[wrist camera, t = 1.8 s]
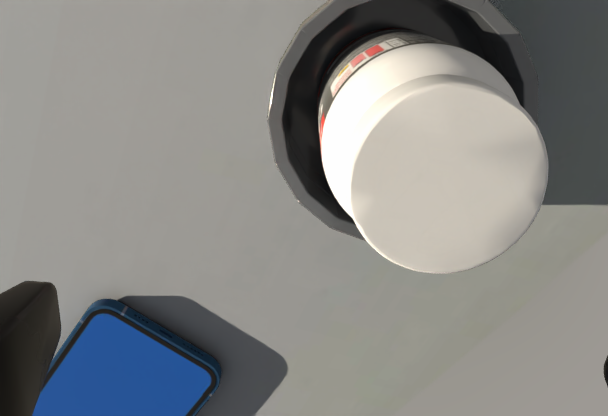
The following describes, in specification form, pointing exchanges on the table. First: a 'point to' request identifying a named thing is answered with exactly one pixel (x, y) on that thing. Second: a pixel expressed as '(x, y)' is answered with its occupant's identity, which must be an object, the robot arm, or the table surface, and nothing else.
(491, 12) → the pot
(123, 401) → the smartphone
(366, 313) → the table surface
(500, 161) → the pill bottle
